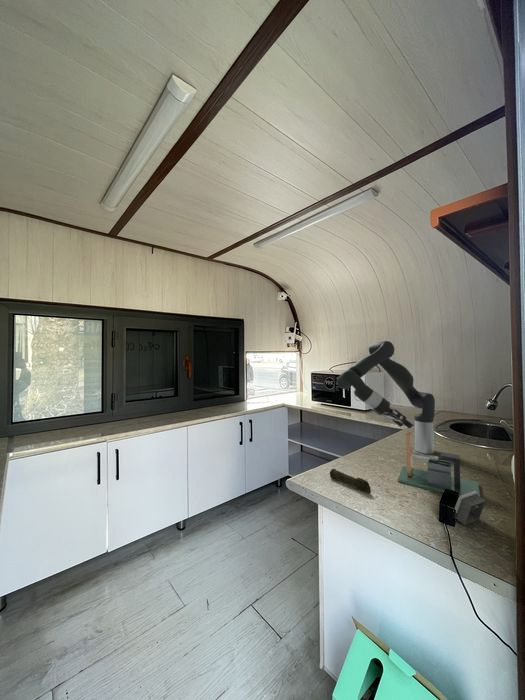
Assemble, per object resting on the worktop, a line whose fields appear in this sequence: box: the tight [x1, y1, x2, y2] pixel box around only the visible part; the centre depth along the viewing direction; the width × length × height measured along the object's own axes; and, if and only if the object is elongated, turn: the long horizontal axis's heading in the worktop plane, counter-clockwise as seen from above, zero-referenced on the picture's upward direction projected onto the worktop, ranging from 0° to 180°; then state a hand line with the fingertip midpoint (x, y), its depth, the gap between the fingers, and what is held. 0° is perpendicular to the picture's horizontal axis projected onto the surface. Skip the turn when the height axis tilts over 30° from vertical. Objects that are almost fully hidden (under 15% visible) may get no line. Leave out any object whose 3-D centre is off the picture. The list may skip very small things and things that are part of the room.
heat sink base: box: [397, 451, 481, 497], centre depth 114 cm, size 16×28×13 cm, turn 54°
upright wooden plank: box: [405, 431, 439, 476], centre depth 117 cm, size 6×12×18 cm, turn 54°
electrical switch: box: [454, 491, 487, 526], centre depth 88 cm, size 9×5×9 cm, turn 113°
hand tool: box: [329, 468, 372, 494], centre depth 113 cm, size 19×4×5 cm, turn 34°
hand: (406, 426), depth 119 cm, fingers open, 8 cm apart
